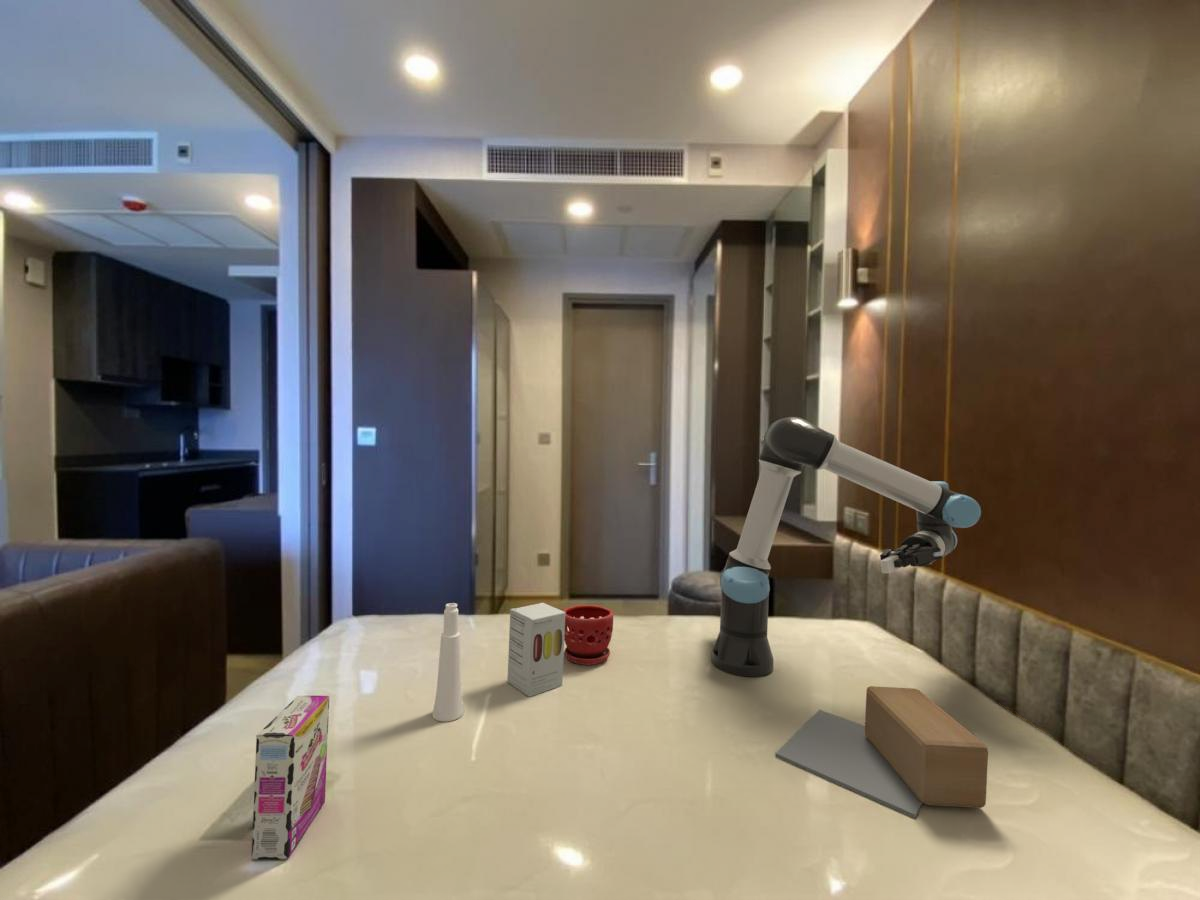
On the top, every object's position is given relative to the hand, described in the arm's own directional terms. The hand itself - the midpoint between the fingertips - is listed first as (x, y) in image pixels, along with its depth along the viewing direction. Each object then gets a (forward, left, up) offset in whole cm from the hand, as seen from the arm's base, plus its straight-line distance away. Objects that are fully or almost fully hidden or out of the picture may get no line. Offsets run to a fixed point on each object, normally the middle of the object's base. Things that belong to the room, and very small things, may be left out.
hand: (884, 567), depth 114 cm
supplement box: (-59, -47, -30) cm, 82 cm away
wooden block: (+5, -14, -25) cm, 29 cm away
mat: (+3, -24, -30) cm, 39 cm away
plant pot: (-61, -28, -30) cm, 74 cm away
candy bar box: (-49, -100, -30) cm, 116 cm away
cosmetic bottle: (-61, -68, -30) cm, 97 cm away
